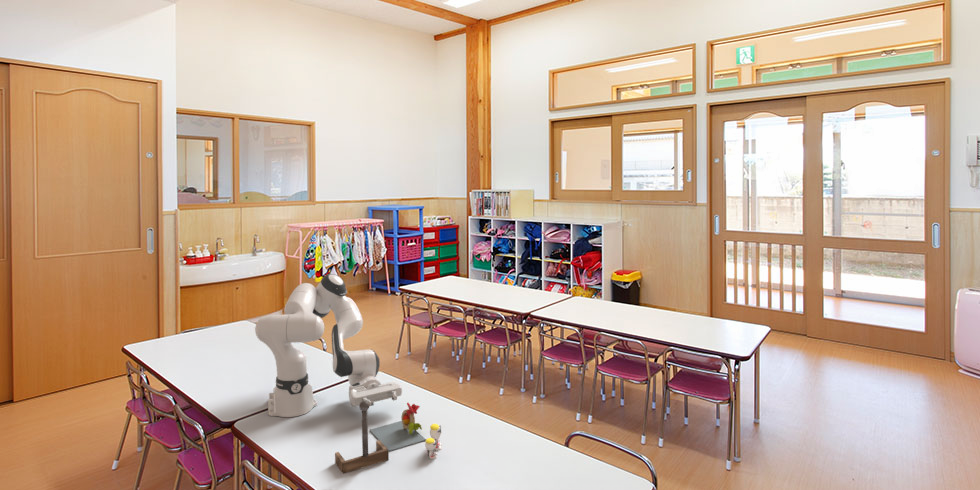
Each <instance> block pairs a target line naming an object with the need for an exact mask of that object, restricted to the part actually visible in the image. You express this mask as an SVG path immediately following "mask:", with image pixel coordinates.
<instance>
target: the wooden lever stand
mask: <svg viewBox="0 0 980 490" xmlns="http://www.w3.org/2000/svg"><path fill="white" fill-rule="evenodd" d="M358 407H359V408H358V409H359V410H360V411H361V440H362V441H361V443H362V445H361V446H362V455H361V456H357V457H353V458H350V459H346V460H345V458H344V457H343V456H342V454H341V453H340V452H339V451H337V452H334V463H335V464H336V467H337V468H338V469H339V470H340V471H341V474H343V475H345V474H347V473H350V472H353V471H357V470H360V469H363V468H366V467H369V466H372V465H373V466H374V465H375V464H381V463H382V462H386V461H389V451H388V449H387V448H386V447H385V446H384V445H383V444H382V442H381V441H380V440H378V439H377V440H375V451H374V452H371V453H369V426H368V424H369V423H368V419H369V418H368V416H369V415H368V410H369V409H370V407H371V406H370V405H369V402H367V401H362V402H361V403H360V405H359V406H358Z"/></svg>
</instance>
